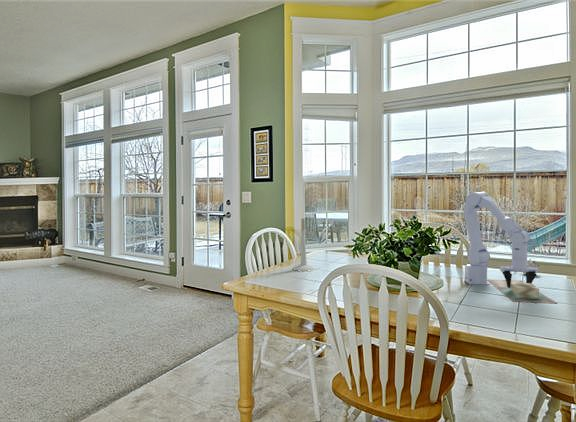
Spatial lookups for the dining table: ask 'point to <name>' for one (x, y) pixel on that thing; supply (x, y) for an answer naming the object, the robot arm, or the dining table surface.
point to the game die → (531, 264)
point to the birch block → (524, 290)
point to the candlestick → (303, 252)
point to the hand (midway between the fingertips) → (518, 287)
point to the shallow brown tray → (502, 287)
